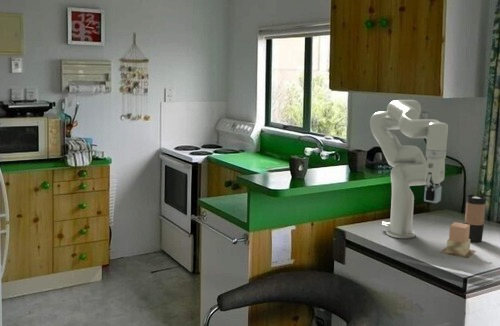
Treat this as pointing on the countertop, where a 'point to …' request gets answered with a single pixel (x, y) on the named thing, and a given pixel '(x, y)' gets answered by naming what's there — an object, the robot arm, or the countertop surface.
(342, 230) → the countertop surface
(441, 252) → the walnut board
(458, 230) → the terracotta block
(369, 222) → the countertop surface
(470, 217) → the travel mug
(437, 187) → the slate block
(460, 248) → the beech base block
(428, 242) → the countertop surface
